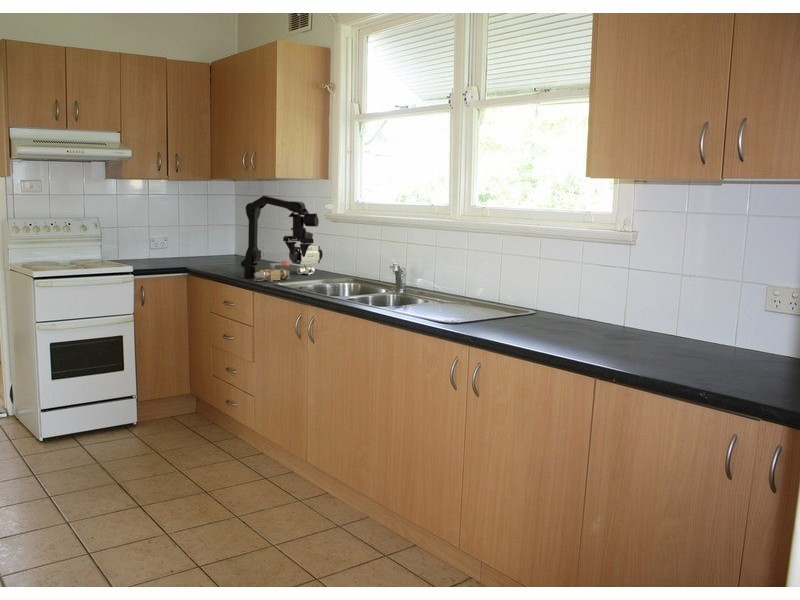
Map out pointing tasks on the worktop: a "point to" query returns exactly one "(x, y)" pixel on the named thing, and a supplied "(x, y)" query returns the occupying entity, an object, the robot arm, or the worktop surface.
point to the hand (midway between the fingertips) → (298, 256)
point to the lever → (283, 263)
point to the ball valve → (306, 258)
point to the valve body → (271, 274)
